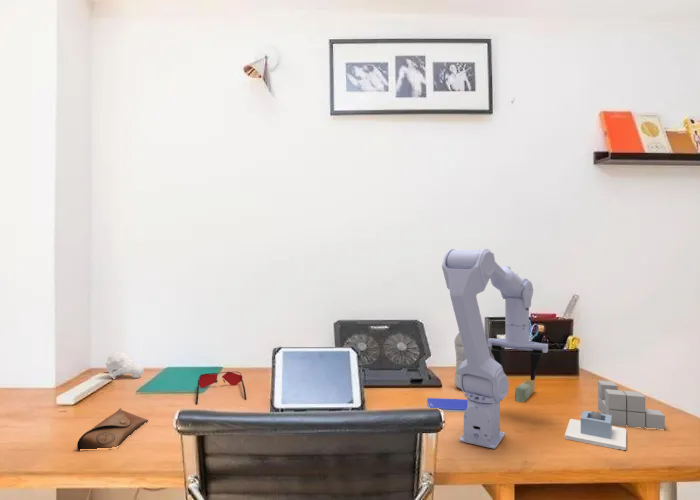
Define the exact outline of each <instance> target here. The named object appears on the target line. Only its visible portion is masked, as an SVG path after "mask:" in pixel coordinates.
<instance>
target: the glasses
mask: <svg viewBox="0 0 700 500" xmlns="http://www.w3.org/2000/svg"><path fill="white" fill-rule="evenodd" d="M218 374H219V373H218V372H209V373H202V374H200V375H199V377H198V379H197V385H196V386H197V387H196V398H195V405H198V403H199V393H200V388H201V389H203V388H206V387H208V386H211V385H213V384H217V383H218ZM221 374H224V375H222V376H221V378H222V381H223V383H224V384H226V382H227V383H228V384H229V385H230V386H237V385H238V384H239V383H240V384H241V386H242V389H243V396H244V397H243V398H244V401H247V392H246V388H245V384H244V380H243V375H242V373H241V372H239V371H236V372H233V371H223V372H221Z"/></svg>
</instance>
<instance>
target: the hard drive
mask: <svg viewBox="0 0 700 500" xmlns="http://www.w3.org/2000/svg"><path fill="white" fill-rule="evenodd" d="M426 402H427V404H426V405H427V408H428V407H430V408H439V409H441V410H443V411H445V413H464V412H465V410H466V409H467V399H463V398H462V399H461V398H460V399H459V398H441V397H440V398H434V397H427V398H426ZM446 411H447V412H446Z"/></svg>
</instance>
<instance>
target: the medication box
mask: <svg viewBox="0 0 700 500" xmlns="http://www.w3.org/2000/svg"><path fill="white" fill-rule="evenodd" d="M535 383H536V381H535V379H534V380H531V379H528V378H526V379H525V380H523V381H522V382H521V383H519V385H517V387H515V395H514V401H515V402H519V403H525V402H526V401H527V400H528V399H529V398H530V397H531V396H532V395H533V394H534V393H535V385H536V384H535Z"/></svg>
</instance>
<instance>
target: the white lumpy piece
mask: <svg viewBox="0 0 700 500" xmlns="http://www.w3.org/2000/svg"><path fill="white" fill-rule="evenodd" d="M105 365H106V369H107V371H108V375H109V374H110V375H112V377H113V379H114V380H116V378H117V376H118V377H122V376H124V375H129V374H131V377H132V379H139V378H140V377H141V375H143V374H144V370H145V368H144V366H143V365H141V364H139V363H136V362H135V361H134V359H132V358H131V356H129V355H127V353H125V352H122V351H115V352H112V353H111V354H110V355H109V356H108V357H107V361H106V363H105ZM110 375H109V376H110Z"/></svg>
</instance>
